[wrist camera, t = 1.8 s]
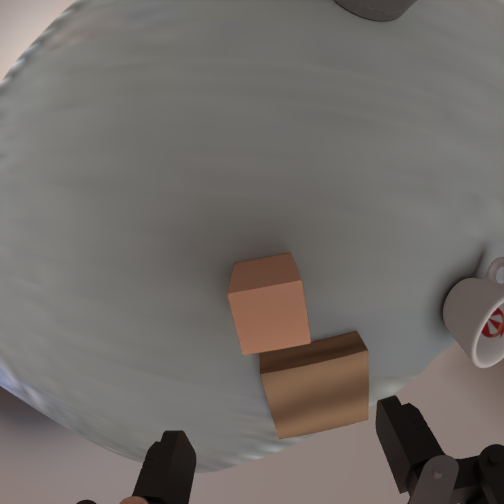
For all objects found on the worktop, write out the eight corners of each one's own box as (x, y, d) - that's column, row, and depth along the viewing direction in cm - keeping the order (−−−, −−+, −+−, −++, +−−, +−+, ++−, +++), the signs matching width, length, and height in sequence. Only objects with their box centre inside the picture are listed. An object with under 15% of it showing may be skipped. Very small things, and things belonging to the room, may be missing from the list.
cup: (465, 234, 25) (514, 254, 17) (501, 259, 26) (545, 281, 18) (422, 324, 28) (459, 363, 20) (463, 338, 28) (498, 372, 21)
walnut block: (260, 350, 29) (260, 374, 25) (355, 329, 28) (368, 350, 24) (277, 415, 32) (279, 439, 28) (359, 397, 31) (368, 419, 27)
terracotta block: (234, 263, 26) (227, 293, 20) (290, 252, 26) (301, 279, 19) (246, 313, 28) (243, 355, 21) (299, 303, 27) (311, 343, 21)
